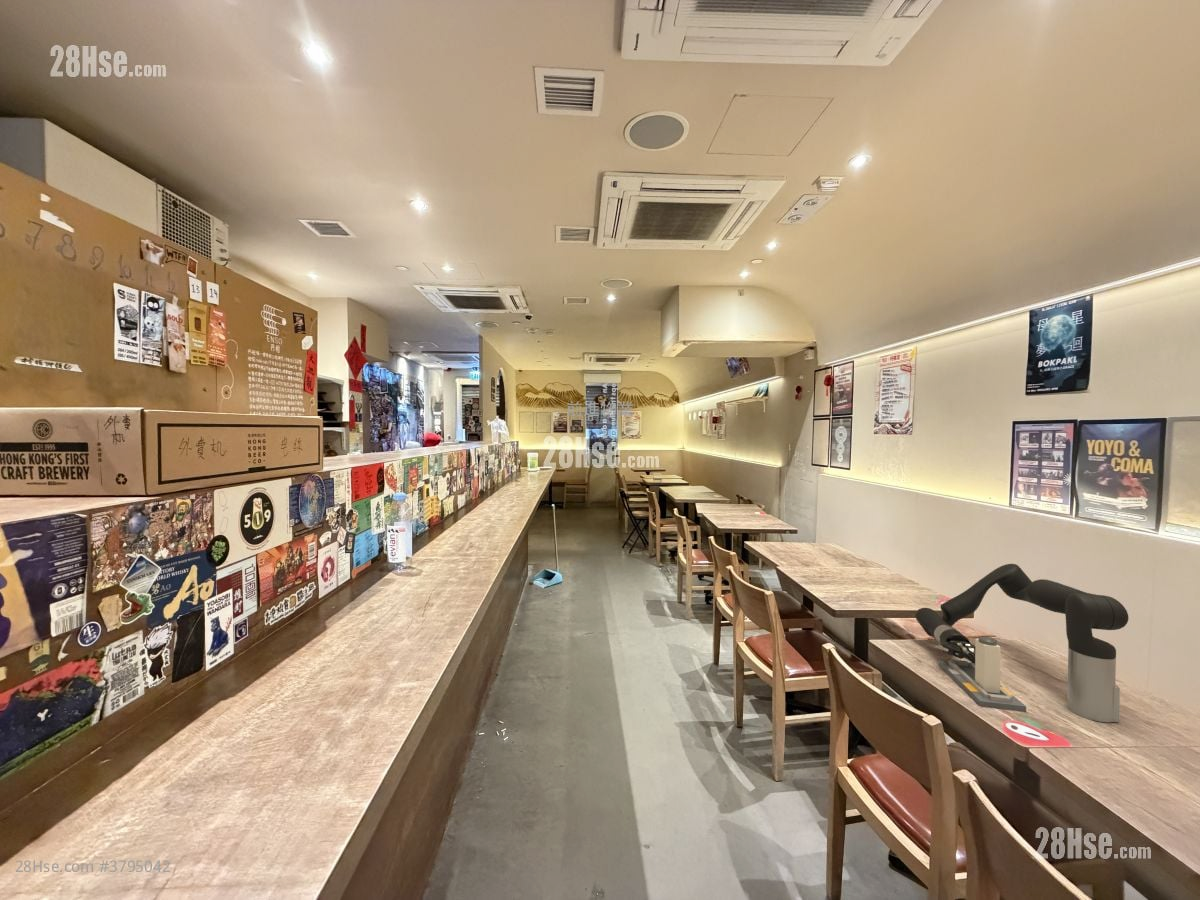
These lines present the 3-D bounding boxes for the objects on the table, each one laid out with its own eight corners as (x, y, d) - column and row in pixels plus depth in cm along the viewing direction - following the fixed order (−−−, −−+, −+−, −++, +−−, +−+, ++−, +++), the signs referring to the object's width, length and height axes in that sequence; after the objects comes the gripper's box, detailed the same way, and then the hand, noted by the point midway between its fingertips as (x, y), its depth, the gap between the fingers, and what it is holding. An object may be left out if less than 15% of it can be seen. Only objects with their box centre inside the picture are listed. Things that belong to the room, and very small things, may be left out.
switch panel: (938, 664, 159) (938, 656, 159) (976, 668, 157) (976, 660, 157) (980, 706, 134) (980, 697, 134) (1026, 711, 131) (1026, 702, 131)
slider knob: (974, 683, 143) (974, 635, 143) (991, 685, 142) (991, 636, 142) (983, 691, 139) (983, 641, 138) (1000, 693, 138) (1001, 643, 137)
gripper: (973, 652, 160) (1003, 677, 143) (929, 648, 163) (953, 671, 146) (973, 630, 160) (1003, 652, 143) (929, 627, 163) (954, 648, 146)
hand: (978, 662), depth 145 cm, fingers closed
